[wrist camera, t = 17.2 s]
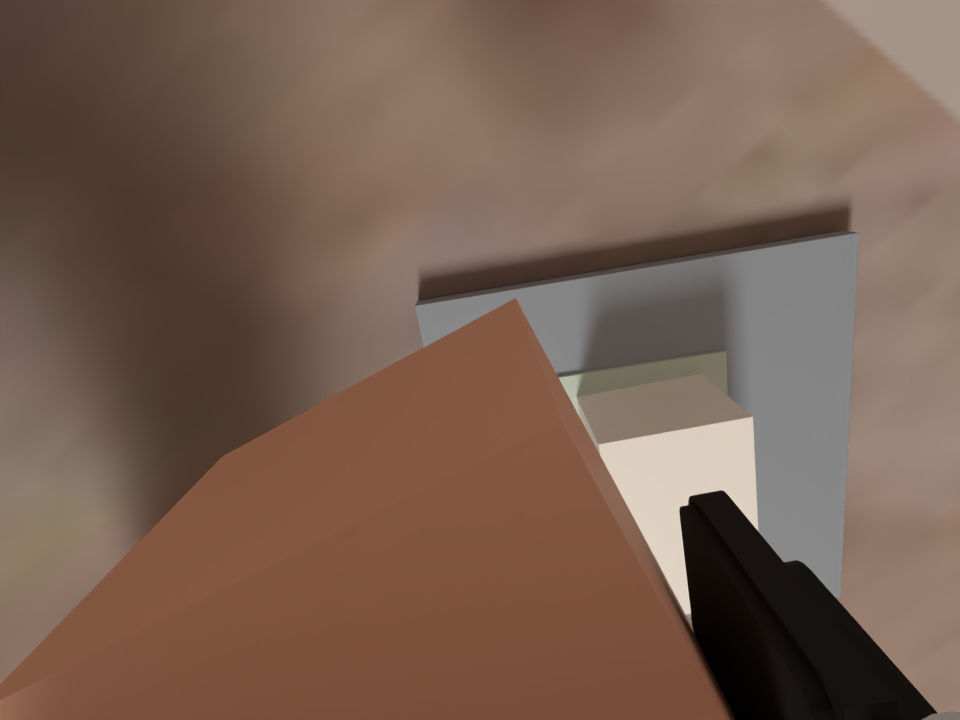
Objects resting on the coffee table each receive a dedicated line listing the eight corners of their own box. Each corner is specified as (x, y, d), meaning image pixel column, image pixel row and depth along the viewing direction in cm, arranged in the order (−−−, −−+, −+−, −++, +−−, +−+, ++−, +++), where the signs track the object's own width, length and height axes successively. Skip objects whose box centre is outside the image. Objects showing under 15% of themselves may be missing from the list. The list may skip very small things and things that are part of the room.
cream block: (713, 532, 28) (761, 602, 23) (600, 551, 28) (625, 624, 24) (701, 373, 25) (753, 416, 21) (576, 397, 26) (598, 444, 21)
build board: (826, 581, 31) (842, 599, 29) (484, 627, 32) (485, 647, 30) (841, 230, 25) (862, 233, 23) (417, 300, 26) (414, 306, 24)
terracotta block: (715, 669, 11) (891, 1024, 6) (465, 770, 12) (457, 1151, 7) (515, 297, 9) (560, 422, 4) (222, 456, 10) (-29, 714, 5)
